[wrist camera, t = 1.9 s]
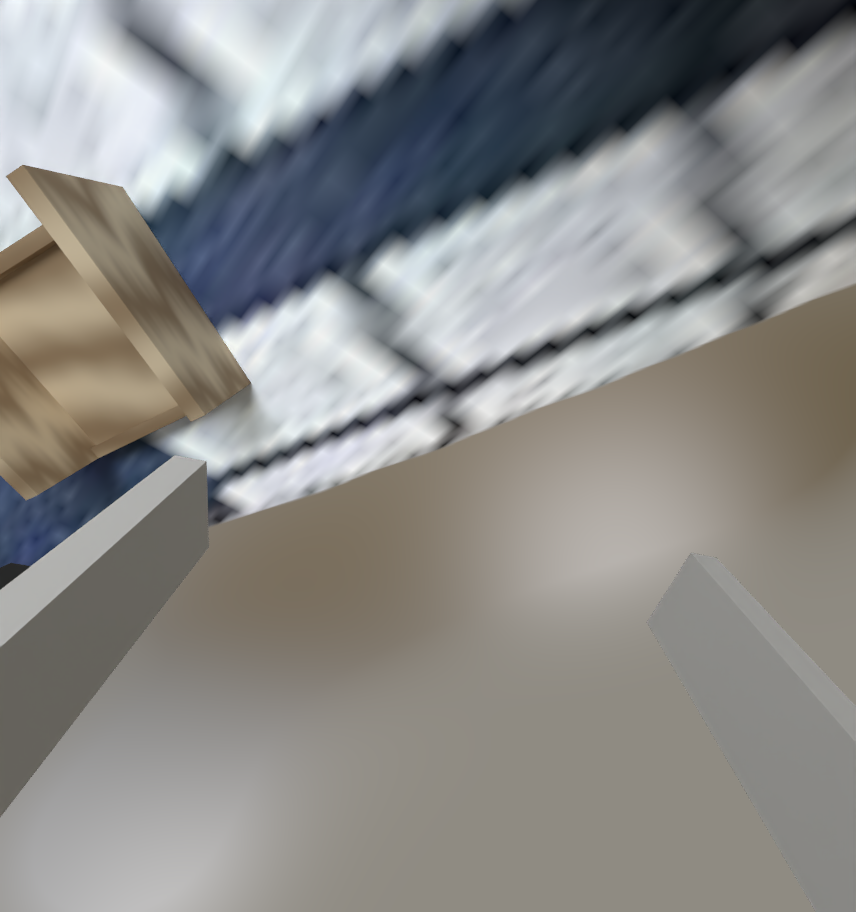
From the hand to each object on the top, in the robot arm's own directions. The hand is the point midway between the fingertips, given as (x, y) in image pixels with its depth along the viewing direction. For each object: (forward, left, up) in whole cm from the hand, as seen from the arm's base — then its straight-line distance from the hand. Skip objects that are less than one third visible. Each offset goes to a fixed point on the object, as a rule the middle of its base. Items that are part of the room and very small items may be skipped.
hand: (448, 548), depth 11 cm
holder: (-12, -23, -24) cm, 35 cm away
